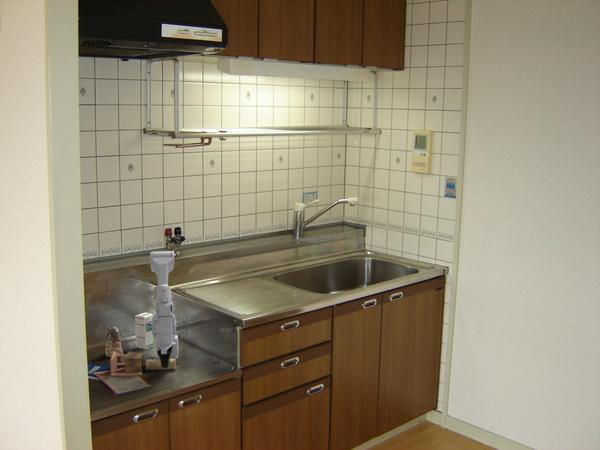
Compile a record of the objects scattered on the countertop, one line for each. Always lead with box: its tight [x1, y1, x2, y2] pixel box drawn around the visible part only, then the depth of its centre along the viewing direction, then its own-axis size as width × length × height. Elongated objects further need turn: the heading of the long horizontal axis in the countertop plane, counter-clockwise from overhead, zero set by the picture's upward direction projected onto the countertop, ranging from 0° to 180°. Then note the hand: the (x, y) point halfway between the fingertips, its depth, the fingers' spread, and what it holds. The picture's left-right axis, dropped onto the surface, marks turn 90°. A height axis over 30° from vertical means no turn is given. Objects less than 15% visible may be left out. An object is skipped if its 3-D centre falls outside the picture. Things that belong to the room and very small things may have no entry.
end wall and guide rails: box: [109, 352, 146, 377], centre depth 277 cm, size 12×12×6 cm
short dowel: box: [120, 354, 127, 363], centre depth 287 cm, size 8×3×3 cm
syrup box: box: [134, 312, 155, 350], centre depth 304 cm, size 6×6×14 cm
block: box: [124, 350, 145, 374], centre depth 277 cm, size 6×9×6 cm, turn 7°
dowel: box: [145, 358, 177, 371], centre depth 279 cm, size 12×4×4 cm, turn 97°
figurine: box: [104, 326, 124, 358], centre depth 294 cm, size 7×7×12 cm
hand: (165, 365), depth 279 cm, fingers closed on dowel, 4 cm apart
